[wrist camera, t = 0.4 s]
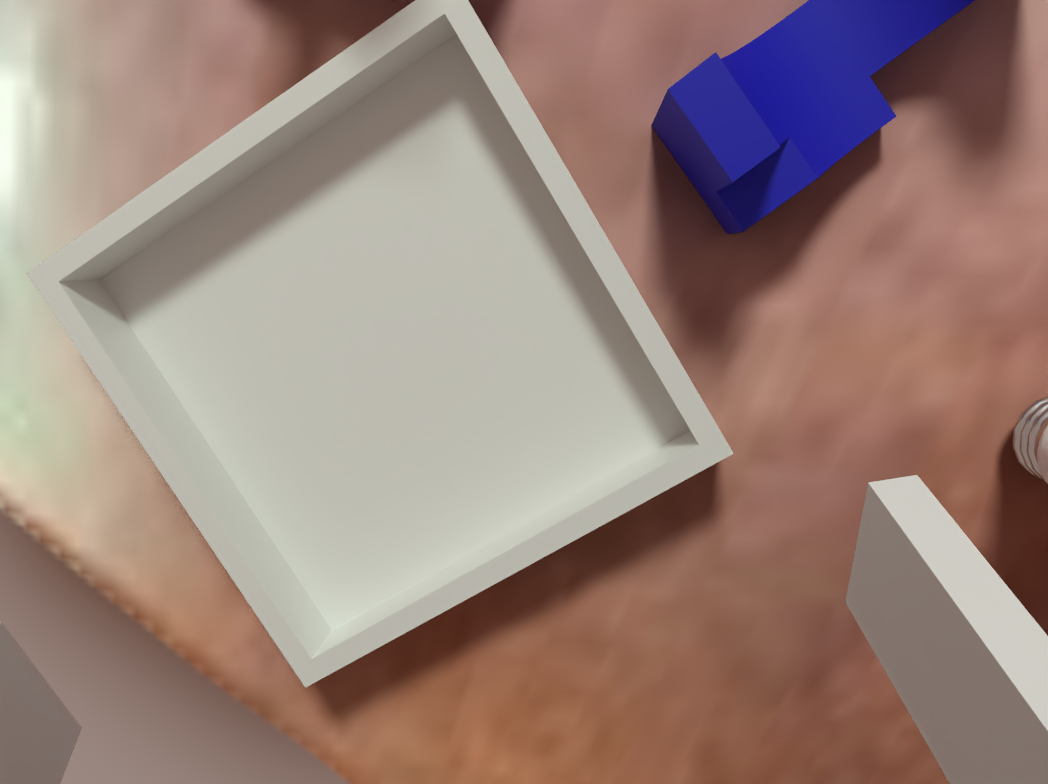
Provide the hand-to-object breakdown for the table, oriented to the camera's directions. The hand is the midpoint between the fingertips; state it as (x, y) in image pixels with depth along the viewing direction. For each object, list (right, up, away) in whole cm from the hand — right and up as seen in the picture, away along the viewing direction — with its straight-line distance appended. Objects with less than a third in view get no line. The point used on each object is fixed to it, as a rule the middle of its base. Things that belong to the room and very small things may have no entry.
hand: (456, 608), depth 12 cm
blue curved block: (+12, +14, +14) cm, 23 cm away
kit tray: (-4, +5, +16) cm, 17 cm away
